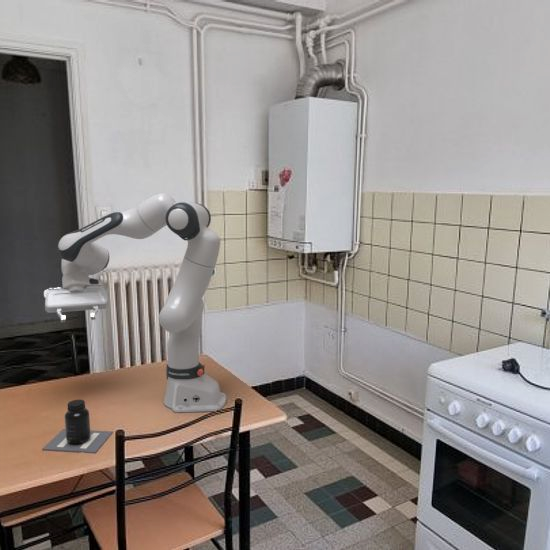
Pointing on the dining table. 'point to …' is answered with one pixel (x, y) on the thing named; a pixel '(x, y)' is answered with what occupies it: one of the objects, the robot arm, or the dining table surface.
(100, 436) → the board
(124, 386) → the dining table surface
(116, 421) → the dining table surface
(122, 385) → the dining table surface
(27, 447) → the dining table surface
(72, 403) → the supplement bottle
